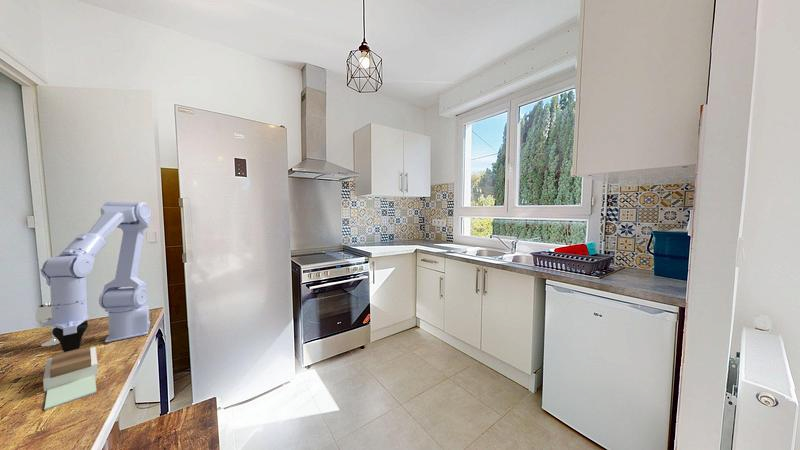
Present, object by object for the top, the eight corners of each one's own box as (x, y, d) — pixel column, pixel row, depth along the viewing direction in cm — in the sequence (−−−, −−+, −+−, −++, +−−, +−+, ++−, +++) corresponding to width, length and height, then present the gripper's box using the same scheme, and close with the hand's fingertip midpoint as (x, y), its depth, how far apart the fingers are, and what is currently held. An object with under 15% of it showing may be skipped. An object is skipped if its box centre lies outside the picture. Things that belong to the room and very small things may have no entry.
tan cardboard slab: (52, 363, 64) (52, 355, 64) (90, 353, 69) (90, 345, 69) (50, 378, 59) (50, 369, 59) (91, 366, 64) (91, 358, 63)
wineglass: (72, 340, 81) (71, 302, 81) (42, 349, 76) (40, 309, 75) (63, 336, 83) (61, 300, 82) (33, 345, 78) (31, 306, 77)
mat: (47, 390, 59) (47, 389, 59) (94, 375, 65) (94, 374, 64) (44, 410, 53) (44, 408, 53) (96, 392, 59) (96, 391, 59)
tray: (47, 370, 66) (47, 359, 66) (95, 357, 72) (95, 346, 72) (43, 391, 59) (43, 379, 58) (98, 374, 65) (97, 363, 65)
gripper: (45, 299, 68) (48, 349, 69) (40, 313, 59) (43, 371, 60) (87, 292, 74) (89, 339, 74) (88, 305, 64) (90, 358, 65)
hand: (71, 352), depth 67 cm, fingers closed
